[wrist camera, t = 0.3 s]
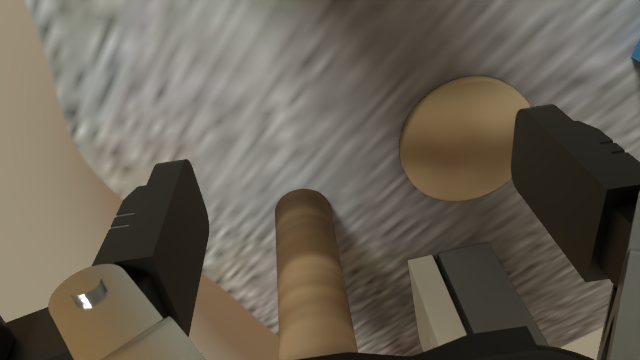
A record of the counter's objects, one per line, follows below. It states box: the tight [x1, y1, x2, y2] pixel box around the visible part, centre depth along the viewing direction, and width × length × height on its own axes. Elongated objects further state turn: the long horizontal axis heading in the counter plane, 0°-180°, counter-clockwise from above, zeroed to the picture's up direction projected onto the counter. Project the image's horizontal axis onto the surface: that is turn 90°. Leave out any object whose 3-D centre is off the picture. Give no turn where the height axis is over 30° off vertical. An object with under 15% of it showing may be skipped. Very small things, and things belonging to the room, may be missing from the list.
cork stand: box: [399, 76, 530, 201], centre depth 32 cm, size 9×9×1 cm
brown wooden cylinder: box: [275, 189, 358, 360], centre depth 29 cm, size 4×4×14 cm
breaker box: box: [408, 242, 549, 352], centre depth 36 cm, size 10×6×13 cm, turn 12°
